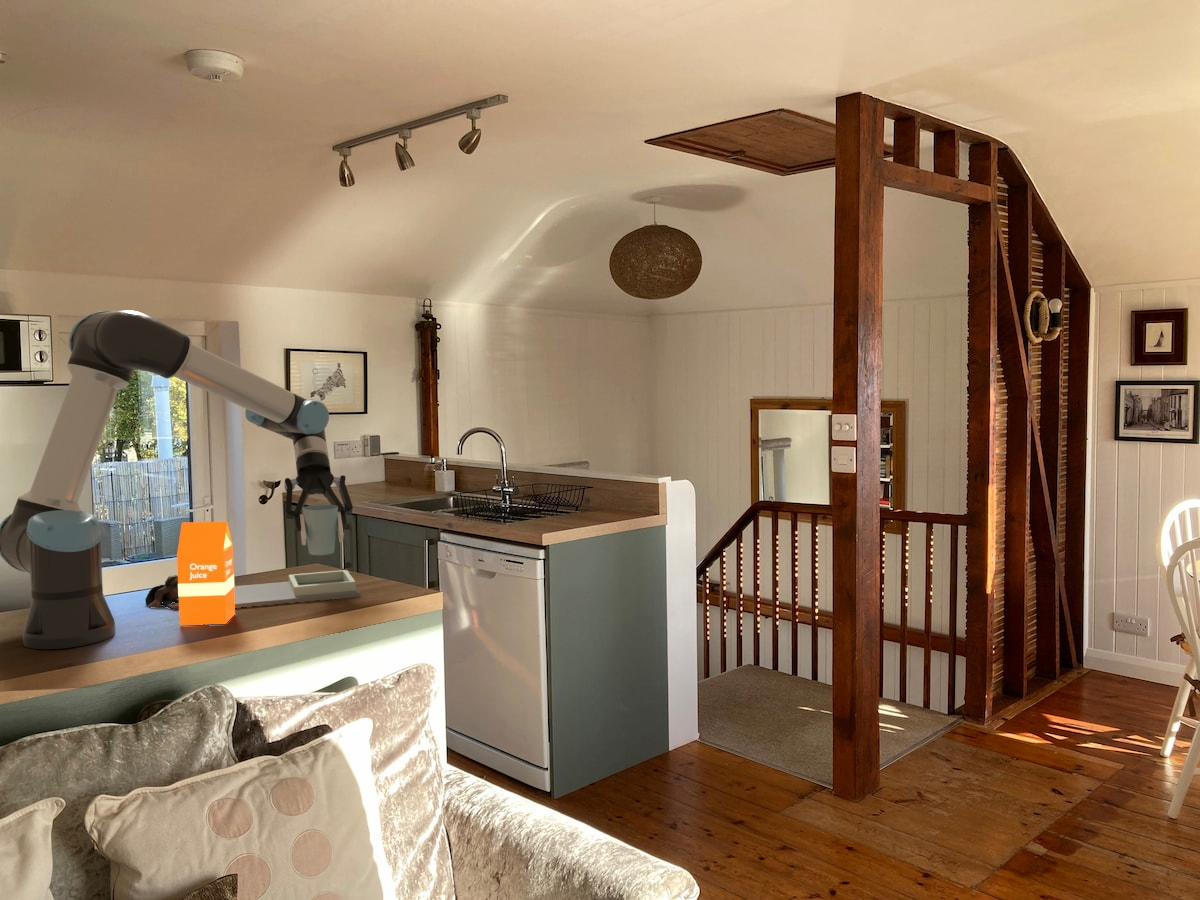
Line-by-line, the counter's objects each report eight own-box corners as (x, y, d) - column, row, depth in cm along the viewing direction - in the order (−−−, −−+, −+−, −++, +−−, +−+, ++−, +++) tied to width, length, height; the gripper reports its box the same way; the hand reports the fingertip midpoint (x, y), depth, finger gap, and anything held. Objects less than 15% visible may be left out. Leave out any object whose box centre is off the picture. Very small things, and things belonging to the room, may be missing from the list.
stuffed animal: (157, 609, 195) (140, 569, 201) (151, 641, 200) (135, 601, 206) (215, 599, 203) (197, 560, 209) (207, 630, 208) (190, 592, 214)
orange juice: (226, 625, 186) (222, 524, 185) (179, 626, 185) (174, 525, 183) (235, 614, 194) (232, 518, 192) (190, 616, 193) (186, 519, 191)
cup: (296, 553, 212) (294, 508, 211) (322, 548, 218) (321, 503, 217) (319, 557, 208) (318, 511, 207) (346, 551, 214) (345, 506, 213)
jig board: (233, 608, 198) (232, 594, 198) (230, 590, 214) (229, 577, 214) (359, 596, 209) (359, 583, 208) (347, 580, 224) (347, 568, 224)
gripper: (354, 468, 229) (367, 546, 216) (266, 472, 222) (274, 553, 208) (357, 448, 224) (371, 527, 211) (267, 452, 216) (275, 533, 203)
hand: (323, 540), depth 210 cm, fingers closed on cup, 7 cm apart
